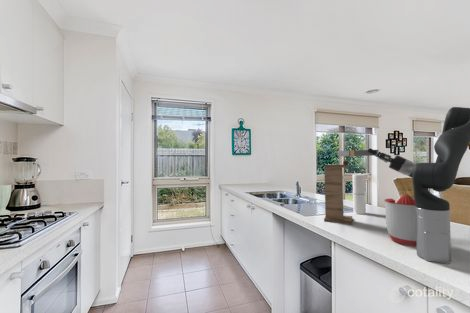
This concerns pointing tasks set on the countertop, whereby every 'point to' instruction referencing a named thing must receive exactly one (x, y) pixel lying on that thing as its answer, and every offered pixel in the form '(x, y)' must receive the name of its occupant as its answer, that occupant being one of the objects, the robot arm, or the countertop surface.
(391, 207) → the citrus juicer
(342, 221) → the stand
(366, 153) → the cord plug
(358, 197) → the cylindrical container
